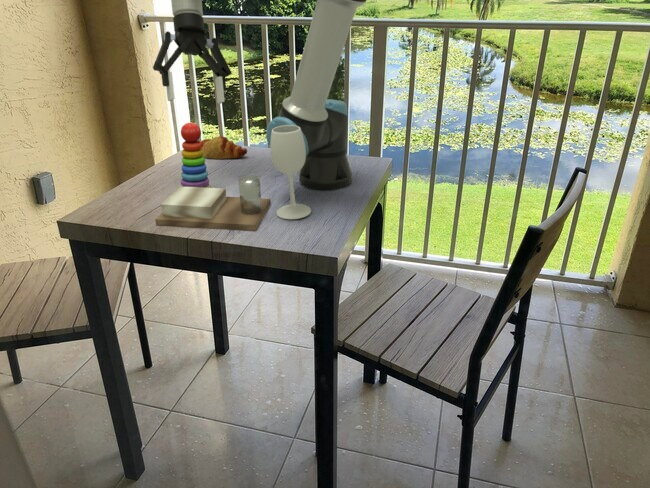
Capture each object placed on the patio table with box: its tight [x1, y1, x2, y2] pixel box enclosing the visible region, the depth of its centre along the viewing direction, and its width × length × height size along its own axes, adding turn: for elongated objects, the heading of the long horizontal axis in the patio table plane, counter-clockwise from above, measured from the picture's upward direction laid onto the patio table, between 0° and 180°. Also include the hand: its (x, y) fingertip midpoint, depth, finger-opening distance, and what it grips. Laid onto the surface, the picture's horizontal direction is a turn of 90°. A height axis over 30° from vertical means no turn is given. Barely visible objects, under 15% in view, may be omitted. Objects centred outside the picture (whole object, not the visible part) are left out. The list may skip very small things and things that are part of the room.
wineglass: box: [269, 125, 312, 220], centre depth 122 cm, size 9×9×21 cm
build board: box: [155, 185, 272, 232], centre depth 125 cm, size 24×16×4 cm, turn 83°
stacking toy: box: [180, 122, 212, 188], centre depth 135 cm, size 8×8×19 cm
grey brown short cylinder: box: [238, 175, 262, 215], centre depth 123 cm, size 5×5×8 cm
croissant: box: [200, 135, 248, 160], centre depth 168 cm, size 21×10×8 cm, turn 73°
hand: (196, 101), depth 132 cm, fingers open, 13 cm apart
